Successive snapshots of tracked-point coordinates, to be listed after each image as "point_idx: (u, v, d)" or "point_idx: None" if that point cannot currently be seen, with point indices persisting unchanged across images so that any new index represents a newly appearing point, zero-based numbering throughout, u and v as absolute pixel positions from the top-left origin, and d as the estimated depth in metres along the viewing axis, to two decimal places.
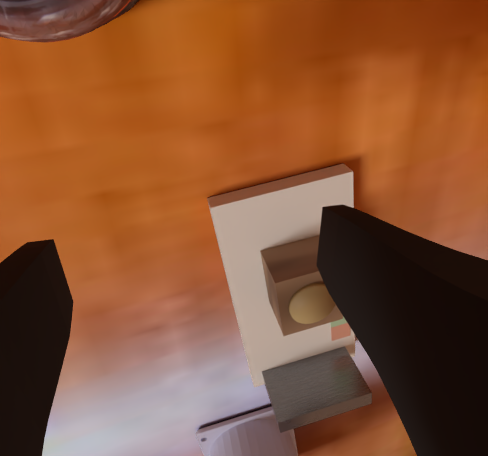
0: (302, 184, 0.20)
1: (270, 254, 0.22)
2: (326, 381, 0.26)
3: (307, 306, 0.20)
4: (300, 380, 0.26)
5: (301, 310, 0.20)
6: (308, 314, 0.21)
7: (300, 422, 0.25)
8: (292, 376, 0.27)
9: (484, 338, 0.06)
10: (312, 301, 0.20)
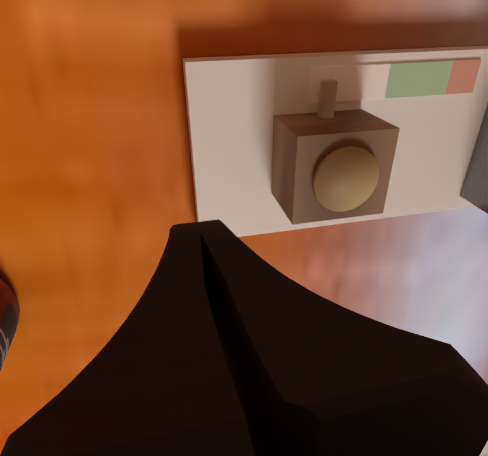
0: (191, 137, 0.16)
1: (275, 189, 0.17)
2: None
3: (343, 189, 0.15)
4: None
5: (347, 197, 0.15)
6: (359, 187, 0.15)
7: None
8: (486, 169, 0.19)
9: (257, 384, 0.05)
10: (339, 182, 0.14)
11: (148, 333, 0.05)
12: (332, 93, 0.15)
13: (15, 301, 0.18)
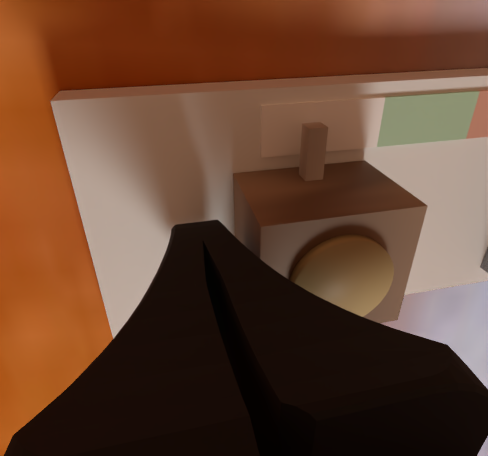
0: (80, 211, 0.10)
1: None
2: None
3: (338, 298, 0.09)
4: None
5: (344, 307, 0.10)
6: (362, 293, 0.09)
7: None
8: None
9: (254, 385, 0.05)
10: (330, 290, 0.09)
11: (151, 333, 0.05)
12: (321, 145, 0.10)
13: None
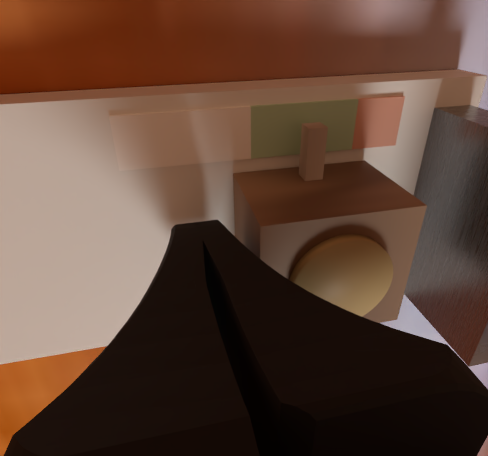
0: None
1: None
2: (466, 218, 0.10)
3: (337, 297, 0.09)
4: (435, 253, 0.12)
5: (343, 307, 0.10)
6: (362, 293, 0.09)
7: None
8: (423, 255, 0.12)
9: (254, 385, 0.05)
10: (330, 289, 0.09)
11: (151, 333, 0.05)
12: (320, 145, 0.10)
13: None
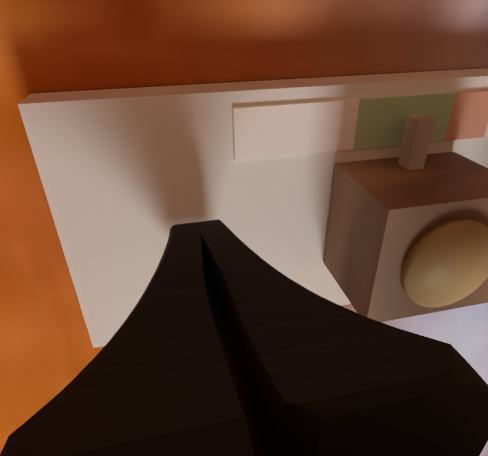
0: (53, 214, 0.10)
1: (331, 261, 0.12)
2: None
3: (446, 279, 0.10)
4: None
5: (449, 288, 0.10)
6: (468, 275, 0.10)
7: None
8: None
9: (257, 384, 0.05)
10: (441, 271, 0.10)
11: (148, 333, 0.05)
12: (426, 136, 0.10)
13: None
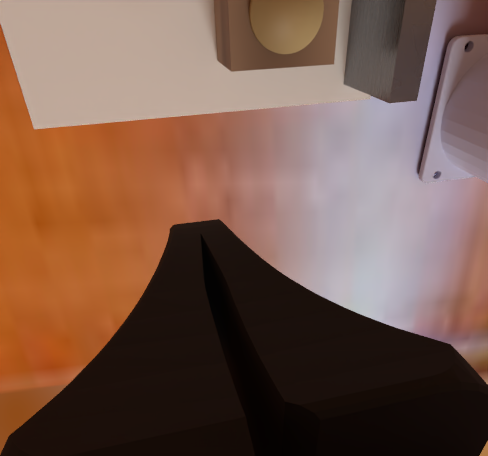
0: None
1: (219, 50, 0.16)
2: None
3: (284, 23, 0.13)
4: (367, 30, 0.16)
5: (289, 34, 0.13)
6: (302, 22, 0.13)
7: (412, 62, 0.14)
8: (360, 41, 0.16)
9: (257, 384, 0.05)
10: (278, 14, 0.13)
11: (148, 333, 0.05)
12: None
13: None
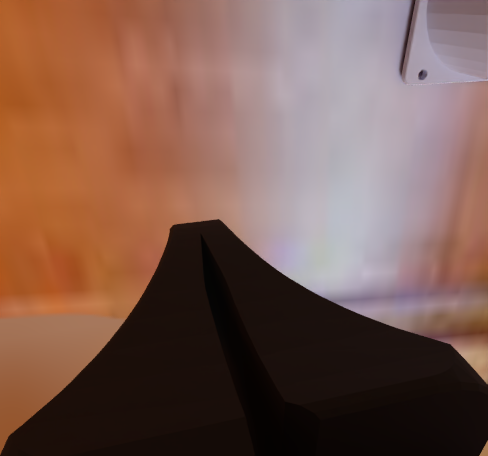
0: None
1: None
2: None
3: None
4: None
5: None
6: None
7: None
8: None
9: (257, 384, 0.05)
10: None
11: (148, 333, 0.05)
12: None
13: None
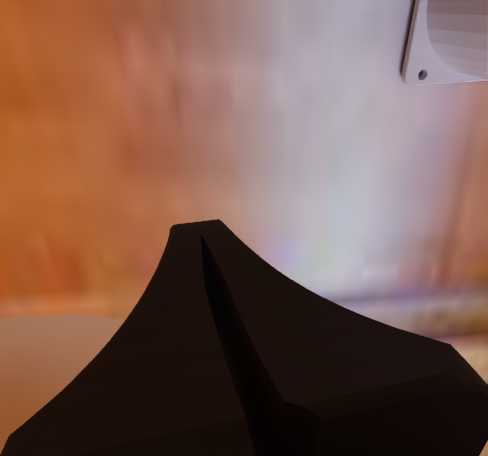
0: None
1: None
2: None
3: None
4: None
5: None
6: None
7: None
8: None
9: (257, 384, 0.05)
10: None
11: (148, 333, 0.05)
12: None
13: None
